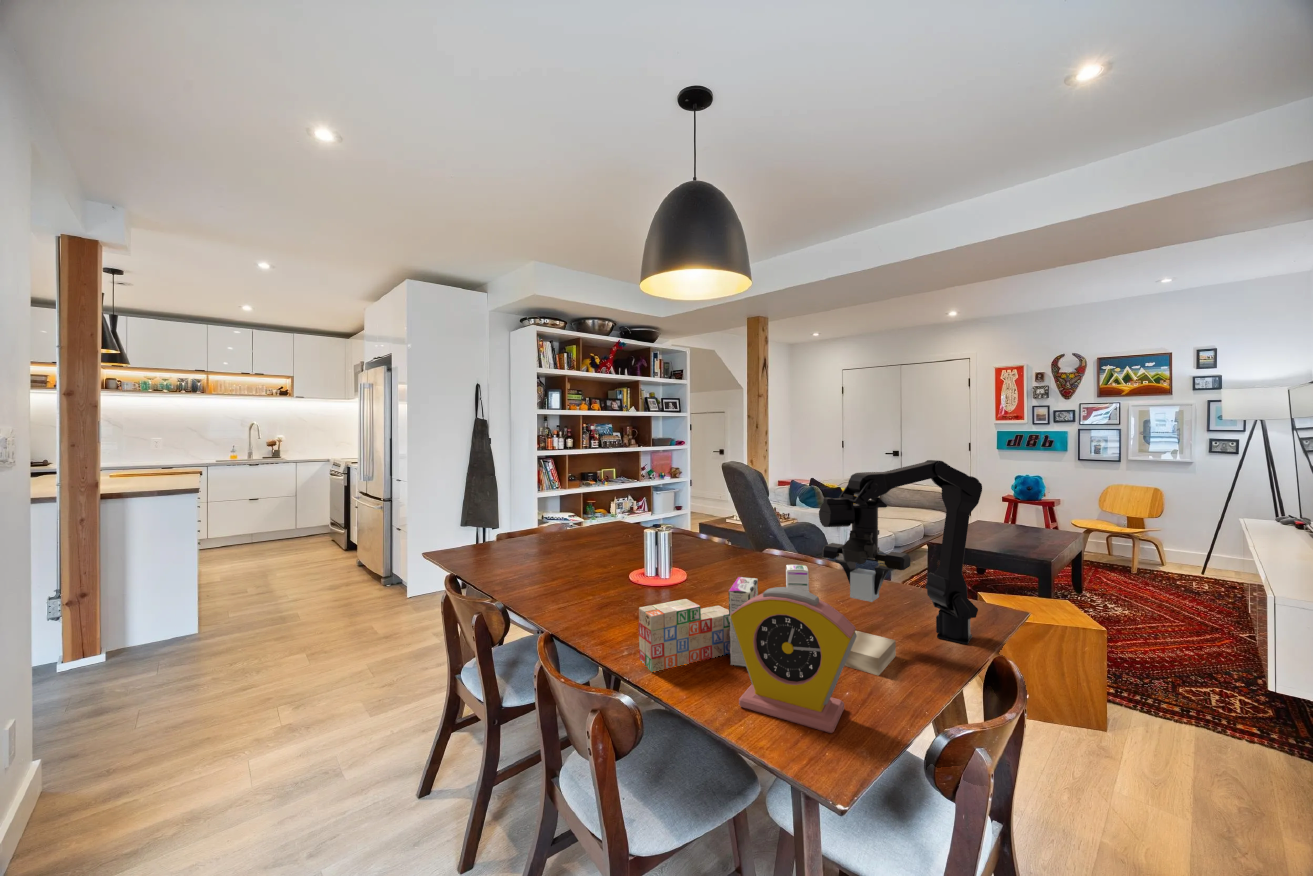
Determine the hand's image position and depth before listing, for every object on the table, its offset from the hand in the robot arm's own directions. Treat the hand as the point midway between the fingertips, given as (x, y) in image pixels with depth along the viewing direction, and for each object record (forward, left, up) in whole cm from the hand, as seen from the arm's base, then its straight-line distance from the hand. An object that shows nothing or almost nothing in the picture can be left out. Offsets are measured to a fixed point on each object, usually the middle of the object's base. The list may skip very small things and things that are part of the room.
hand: (864, 592), depth 119 cm
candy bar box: (+18, +24, -13) cm, 33 cm away
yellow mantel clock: (+1, +38, -13) cm, 40 cm away
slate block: (0, 0, -1) cm, 1 cm away
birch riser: (-2, +8, -13) cm, 15 cm away
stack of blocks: (+28, +33, -13) cm, 45 cm away
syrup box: (+18, -4, -13) cm, 23 cm away
